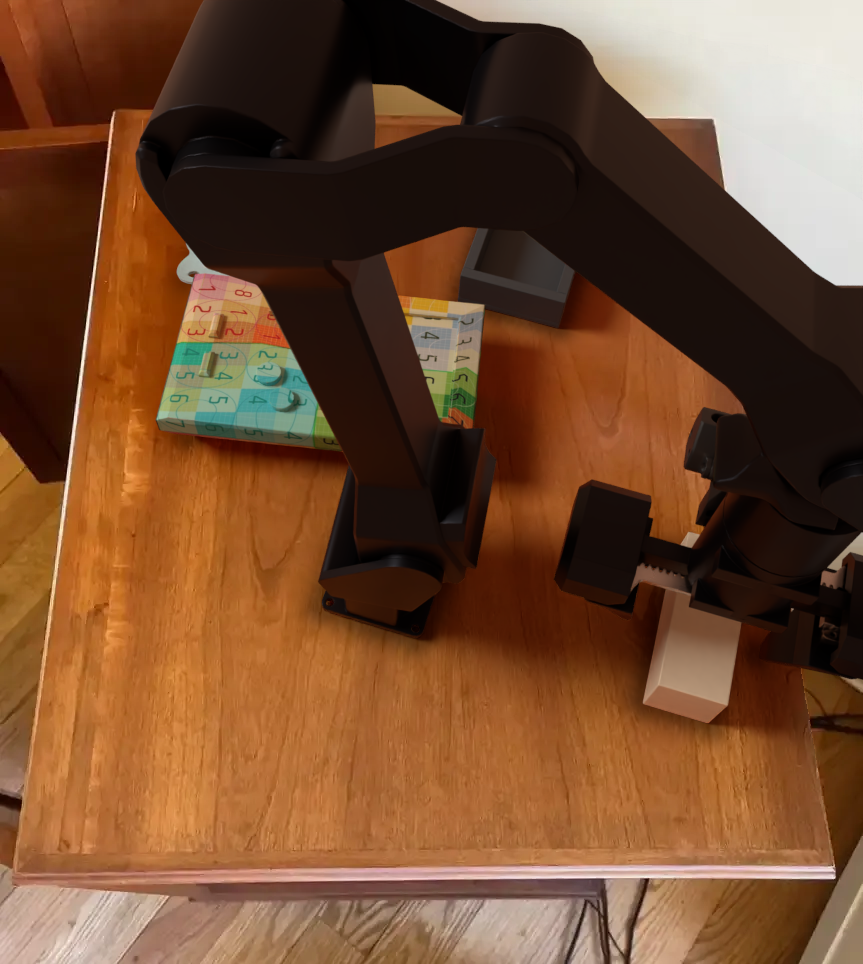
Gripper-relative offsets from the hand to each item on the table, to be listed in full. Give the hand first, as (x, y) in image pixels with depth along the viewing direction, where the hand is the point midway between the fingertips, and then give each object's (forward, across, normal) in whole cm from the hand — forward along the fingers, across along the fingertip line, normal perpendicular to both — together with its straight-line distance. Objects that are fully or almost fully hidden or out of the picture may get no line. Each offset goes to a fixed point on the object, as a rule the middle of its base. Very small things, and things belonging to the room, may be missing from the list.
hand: (694, 631), depth 62 cm
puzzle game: (+1, +27, -10) cm, 29 cm away
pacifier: (+1, +38, -18) cm, 42 cm away
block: (-1, 0, +5) cm, 5 cm away
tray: (+1, +17, -27) cm, 32 cm away
